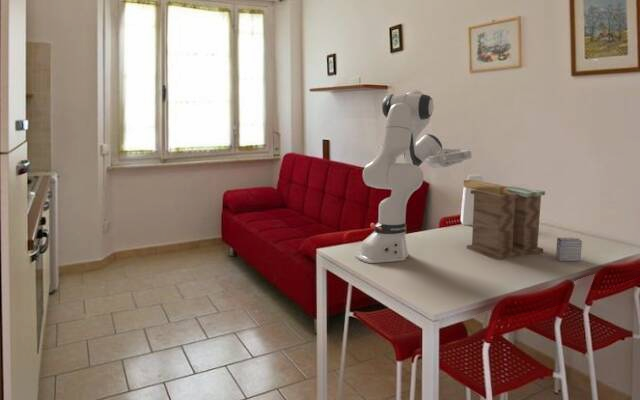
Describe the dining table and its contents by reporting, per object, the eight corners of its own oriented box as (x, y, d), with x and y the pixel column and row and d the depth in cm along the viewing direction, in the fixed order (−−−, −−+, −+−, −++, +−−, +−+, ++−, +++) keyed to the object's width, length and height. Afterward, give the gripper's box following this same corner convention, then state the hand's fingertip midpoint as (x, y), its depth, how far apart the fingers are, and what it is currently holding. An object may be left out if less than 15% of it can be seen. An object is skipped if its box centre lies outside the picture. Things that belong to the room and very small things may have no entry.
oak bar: (499, 194, 191) (499, 186, 191) (463, 186, 211) (463, 180, 211) (506, 193, 193) (507, 186, 192) (470, 186, 213) (470, 179, 212)
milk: (483, 220, 260) (485, 173, 255) (486, 225, 249) (488, 176, 244) (460, 220, 262) (462, 173, 257) (462, 225, 251) (464, 176, 246)
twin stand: (496, 259, 191) (499, 196, 186) (466, 248, 207) (469, 190, 203) (542, 252, 200) (546, 191, 196) (510, 241, 217) (514, 185, 212)
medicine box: (575, 258, 191) (577, 237, 190) (580, 261, 187) (582, 240, 186) (555, 258, 192) (556, 237, 191) (559, 261, 188) (561, 240, 186)
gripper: (422, 154, 228) (433, 153, 215) (462, 148, 231) (475, 146, 218) (424, 167, 229) (435, 166, 215) (464, 161, 232) (477, 160, 218)
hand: (456, 156), depth 216 cm, fingers open, 8 cm apart
